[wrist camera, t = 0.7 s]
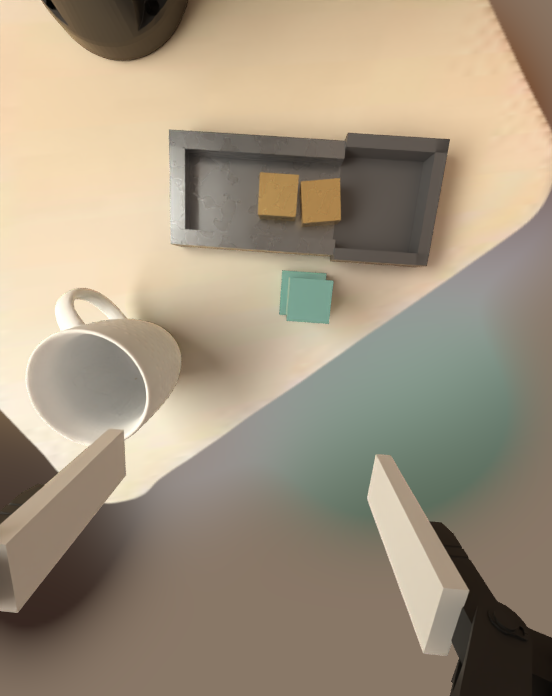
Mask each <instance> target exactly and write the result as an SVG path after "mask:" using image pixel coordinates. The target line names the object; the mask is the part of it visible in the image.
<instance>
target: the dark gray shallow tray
mask: <svg viewBox="0 0 552 696" xmlns="http://www.w3.org/2000/svg"><path fill="white" fill-rule="evenodd" d="M345 149H346V141H339V140H324V139H308V138H292V137H277V136H261V135H245V134H230V133H214V132H198V131H183V130H169V164H170V230H171V244H173V245H177V246H184V247H198V248H213V249H227V250H242V251H256V252H271V253H285V254H299V255H314V256H328V257H331V256H333V255H334V249H335V240H334V239H333V233H334V225H322V226H310V227H301V207H300V183H301V181H312V180H323V179H334V178H340V168H341V165H342V163H343V161H344V158H345ZM260 172H263V173H278V174H294V175H299V181H298V193H297V206H296V218H295V221H281V220H266V219H260V218H259V216H258V200H259V180H260Z"/></svg>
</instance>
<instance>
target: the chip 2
mask: <svg viewBox="0 0 552 696" xmlns="http://www.w3.org/2000/svg"><path fill="white" fill-rule="evenodd" d="M300 207H301V227H310V226H322V225H334V224H338V223H339V221H340V220H341V200H340V178H334V179H323V180H312V181H301V183H300Z"/></svg>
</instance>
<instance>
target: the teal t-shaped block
mask: <svg viewBox="0 0 552 696" xmlns="http://www.w3.org/2000/svg"><path fill="white" fill-rule="evenodd" d="M326 275H327V274H326V273H311V272H297V271H283V270H282V284H281V298H280V312H279V315H286V316H287V321H297V322H311V323H325V324H329V317H330V308H331V299H332V290H333V281H331V280H326Z"/></svg>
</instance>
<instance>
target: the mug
mask: <svg viewBox="0 0 552 696" xmlns="http://www.w3.org/2000/svg"><path fill="white" fill-rule="evenodd" d="M75 299H81V300H85V301H87V302H89V303H91V304H93V305H94V306H96V307H97V308H98V309H100V310H101V311H102V312H103V313H104V314H105V315H106V316H107V317H108V318H109V319H110V320H106V321H105V320H103V321H99V322H92V323H90V324H84V322H83V321H82V319H81V318H80V317H79V315H78V314H77V312H76V310H75V309H74V300H75ZM55 314H56V319H57V323H58V325H59V327H60V329H61V331H59V332H56V333H54V334H52V335H50V336H48V337H47V338H45V339H44V340H43V341H41V342H40V343H39V344H38V346H37V347H36V348H35V349H34V351H33V352H32V354H31V356H30V358H29V361H28V365H27V369H26V386H27V391H28V394H29V398H30V400H31V403H32V405H33V407H34V409H35V410H36V412H37V413H38V415H39V416H40V417H41V418H42V420H43V421H44V422H45V423H46V424H47V425H48V426H49V427H50V428H52V429H53V430H54V431H55V432H57V433H58V434H60V435H61V436H63V437H64V438H66V439H68V440H70V441H73V442H76V443H78V444H82V445H87V446H90V445H91V444H92V443H93V442H94V441H95V440H97V439H98V438H99V437H100V436H101V435H102V434H103V433H105V432H106V431H107V430H108V429H109V428H110V429H121V430H124V440H126V439H127V438H129V437H130V436H132V435H133V434H135V433H136V432H137V431H138V430H139V429H140V428H141V427H142V426H143V425H144V424H145V423H146V422H147V421H148V420H149V418H151V417H152V416H153V415H154V413H155V412H156V411H157V410H158V409H159V408H160V407H161V405H163V404H164V402H165V401H166V399H168V398H169V395H170V394H171V392H172V391H173V389H174V387H175V386H176V383H177V381H178V378H179V374H180V370H181V363H182V361H181V357H182V356H181V353H180V349H179V347H178V344H177V342H176V341H175V339H174V338H173V337H172V336H171V334H170V333H169V332H167V331H166V330H165V329H164V328H162V327H160V326H158V325H155V324H153V323H150V322H148V321H143V320H136V319H127V318H126V317H125V315H124V314H123V313H122V312H121V311H120V309H119V308H118V307H117V306H116V305H115V304H114V303H113V302H112V301H110V300H109V299H108V298H107V297H105V296H104V295H102V294H101V293H99V292H97V291H95V290H92V289H87V288H77V289H73V290H70V291H68V292H66V293H65V294H63V295H62V296H61V297H60V298H59V299H58V301H57V303H56V306H55Z"/></svg>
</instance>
